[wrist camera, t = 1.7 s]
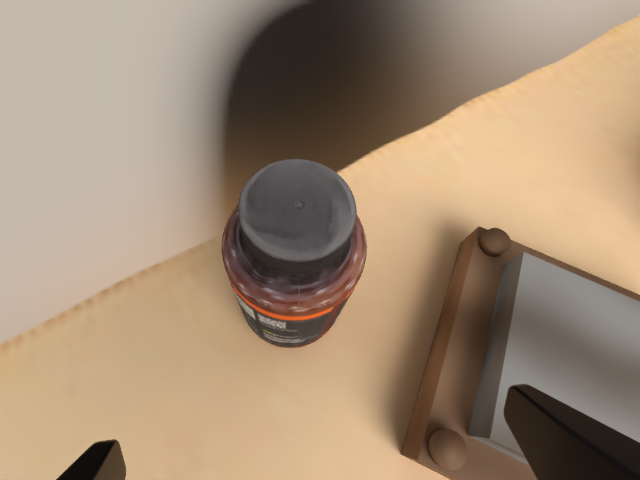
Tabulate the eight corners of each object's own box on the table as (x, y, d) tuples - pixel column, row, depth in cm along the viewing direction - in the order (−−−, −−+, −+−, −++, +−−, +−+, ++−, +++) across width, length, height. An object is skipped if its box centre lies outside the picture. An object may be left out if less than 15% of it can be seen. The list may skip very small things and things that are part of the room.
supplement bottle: (325, 249, 23) (361, 126, 13) (349, 337, 21) (415, 270, 11) (235, 265, 22) (199, 144, 12) (249, 360, 20) (219, 310, 10)
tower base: (663, 585, 17) (779, 638, 13) (401, 454, 19) (434, 466, 15) (657, 328, 23) (736, 311, 19) (461, 242, 25) (496, 210, 21)
